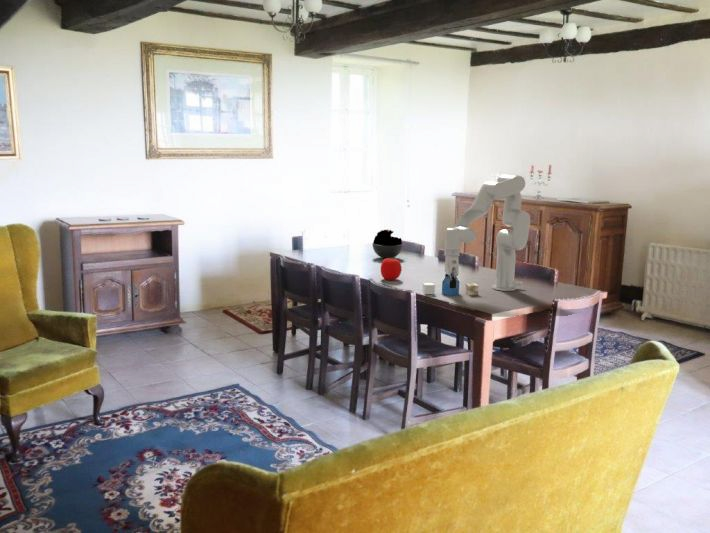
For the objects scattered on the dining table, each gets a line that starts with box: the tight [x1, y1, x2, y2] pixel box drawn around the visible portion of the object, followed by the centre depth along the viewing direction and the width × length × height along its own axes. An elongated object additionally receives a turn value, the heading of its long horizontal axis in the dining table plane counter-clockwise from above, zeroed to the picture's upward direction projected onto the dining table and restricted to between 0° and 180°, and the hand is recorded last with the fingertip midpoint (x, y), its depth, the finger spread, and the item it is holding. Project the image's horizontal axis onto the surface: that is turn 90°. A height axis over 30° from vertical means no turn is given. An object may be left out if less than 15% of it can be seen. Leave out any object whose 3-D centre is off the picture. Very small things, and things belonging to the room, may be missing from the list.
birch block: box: [465, 283, 479, 296], centre depth 324 cm, size 5×5×5 cm
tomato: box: [380, 257, 402, 281], centre depth 353 cm, size 12×12×13 cm
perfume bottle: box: [441, 270, 460, 297], centre depth 323 cm, size 6×6×12 cm
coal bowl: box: [371, 229, 404, 260], centre depth 417 cm, size 20×20×19 cm
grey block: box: [422, 282, 436, 295], centre depth 323 cm, size 5×5×5 cm
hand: (450, 286), depth 323 cm, fingers closed on perfume bottle, 9 cm apart
